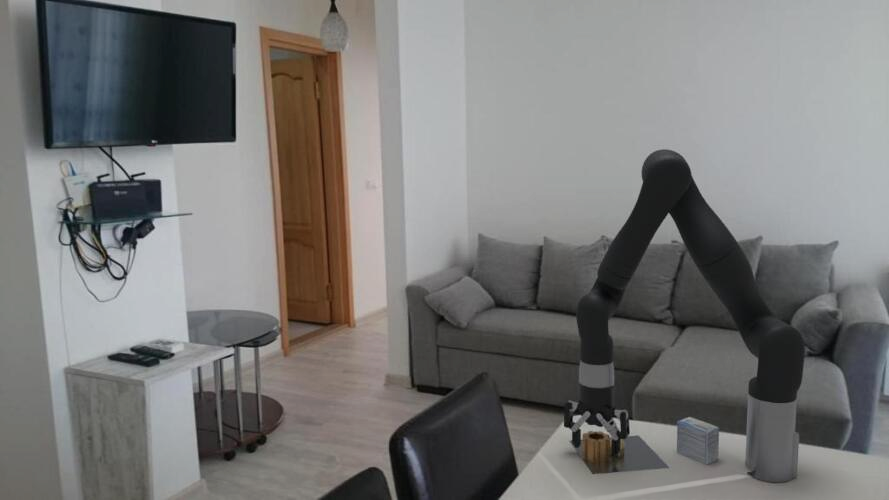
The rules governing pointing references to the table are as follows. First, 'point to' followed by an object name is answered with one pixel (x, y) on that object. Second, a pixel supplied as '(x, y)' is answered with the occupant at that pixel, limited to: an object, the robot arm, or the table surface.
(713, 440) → the medicine box
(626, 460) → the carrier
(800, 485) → the table surface
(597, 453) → the planet gear
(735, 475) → the table surface
